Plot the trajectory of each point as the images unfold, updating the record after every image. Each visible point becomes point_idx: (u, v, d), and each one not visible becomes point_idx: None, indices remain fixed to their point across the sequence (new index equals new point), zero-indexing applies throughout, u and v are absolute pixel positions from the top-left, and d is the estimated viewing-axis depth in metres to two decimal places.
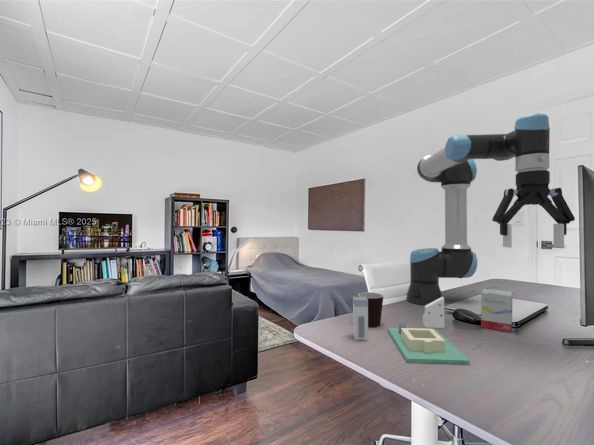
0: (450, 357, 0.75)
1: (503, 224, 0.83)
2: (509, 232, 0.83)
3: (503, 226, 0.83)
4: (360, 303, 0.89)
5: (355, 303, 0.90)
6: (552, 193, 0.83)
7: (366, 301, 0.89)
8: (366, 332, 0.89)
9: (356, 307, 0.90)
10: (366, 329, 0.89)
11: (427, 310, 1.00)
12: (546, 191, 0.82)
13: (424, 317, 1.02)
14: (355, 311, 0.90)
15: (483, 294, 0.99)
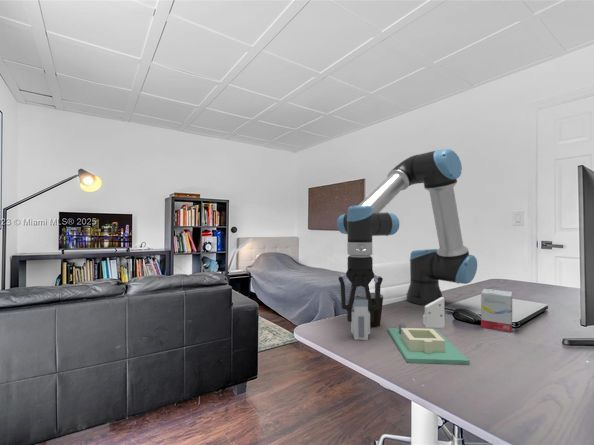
0: (450, 357, 0.75)
1: (348, 311, 0.91)
2: (352, 319, 0.90)
3: (348, 313, 0.91)
4: (360, 303, 0.89)
5: (355, 303, 0.90)
6: (375, 279, 0.91)
7: (366, 301, 0.89)
8: (366, 332, 0.89)
9: (356, 307, 0.90)
10: (366, 329, 0.89)
11: (427, 310, 1.00)
12: (370, 275, 0.90)
13: (424, 317, 1.02)
14: (355, 311, 0.90)
15: (483, 294, 0.99)
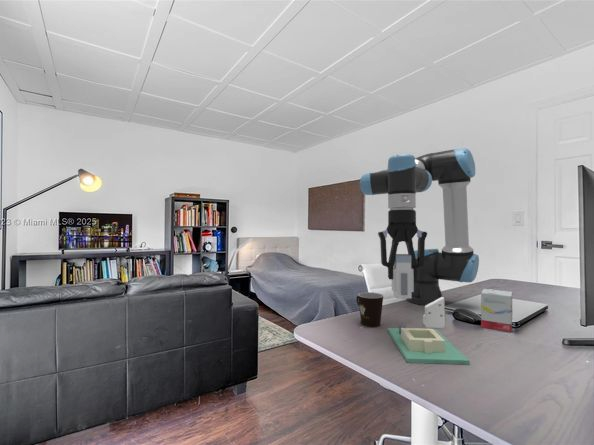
0: (450, 357, 0.75)
1: (389, 268, 0.85)
2: (393, 276, 0.85)
3: (389, 270, 0.85)
4: (403, 259, 0.84)
5: (397, 259, 0.84)
6: (418, 234, 0.85)
7: (409, 257, 0.83)
8: (409, 290, 0.83)
9: (398, 264, 0.84)
10: (409, 287, 0.83)
11: (427, 310, 1.00)
12: (413, 229, 0.84)
13: (424, 317, 1.02)
14: (397, 267, 0.84)
15: (483, 294, 0.99)
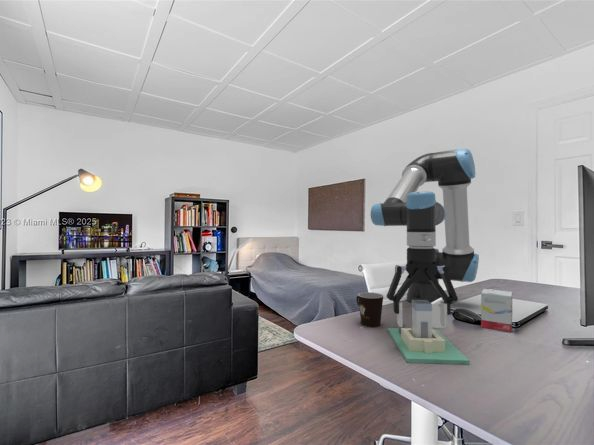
0: (450, 357, 0.75)
1: (395, 302, 0.83)
2: (399, 311, 0.82)
3: (395, 304, 0.83)
4: (423, 307, 0.81)
5: (417, 307, 0.81)
6: (440, 270, 0.82)
7: (430, 305, 0.81)
8: None
9: (418, 312, 0.81)
10: (430, 336, 0.81)
11: None
12: (433, 268, 0.82)
13: None
14: (417, 316, 0.81)
15: (483, 294, 0.99)
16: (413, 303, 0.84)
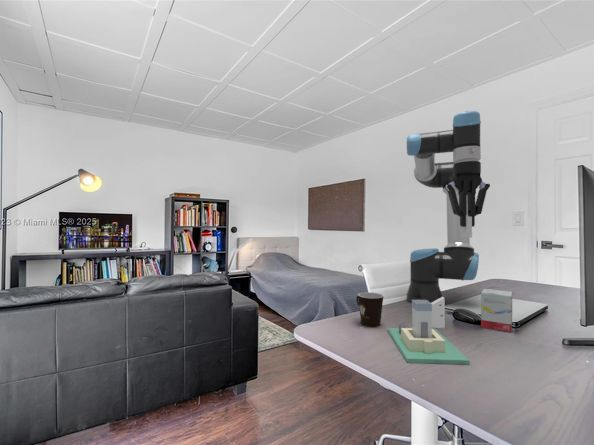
0: (450, 357, 0.75)
1: (462, 216, 0.93)
2: (467, 223, 0.92)
3: (462, 218, 0.93)
4: (423, 307, 0.81)
5: (417, 307, 0.81)
6: (481, 185, 0.93)
7: (430, 305, 0.81)
8: None
9: (418, 312, 0.81)
10: (430, 336, 0.81)
11: None
12: (478, 179, 0.92)
13: None
14: (417, 316, 0.81)
15: (483, 294, 0.99)
16: (413, 303, 0.84)
